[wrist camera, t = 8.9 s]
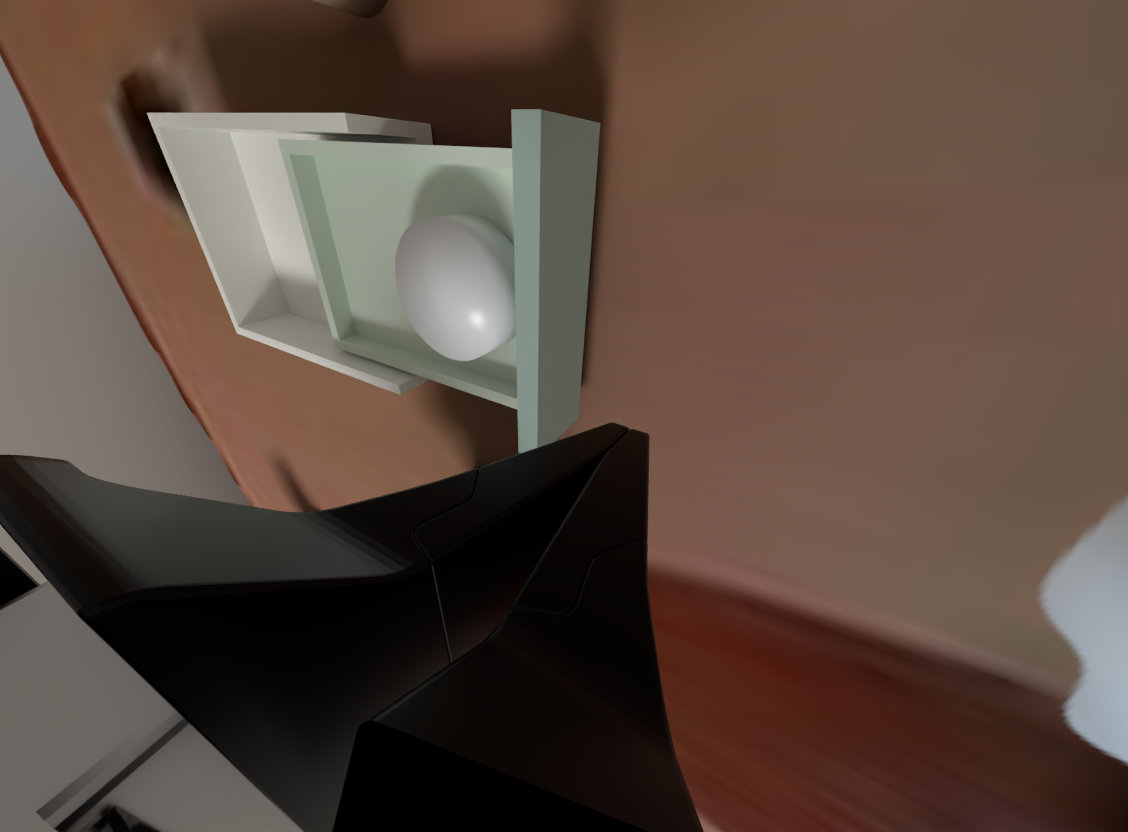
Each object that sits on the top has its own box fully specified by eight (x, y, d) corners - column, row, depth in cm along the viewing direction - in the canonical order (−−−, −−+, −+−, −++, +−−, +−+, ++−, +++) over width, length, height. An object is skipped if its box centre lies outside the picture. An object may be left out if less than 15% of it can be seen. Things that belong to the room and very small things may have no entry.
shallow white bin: (456, 365, 25) (400, 395, 22) (299, 316, 32) (237, 333, 28) (430, 123, 19) (344, 112, 15) (238, 121, 25) (146, 112, 22)
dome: (533, 356, 19) (507, 371, 17) (440, 339, 22) (411, 350, 20) (522, 213, 16) (490, 216, 14) (417, 214, 19) (381, 217, 17)
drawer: (578, 418, 21) (537, 459, 18) (368, 349, 27) (311, 371, 24) (600, 122, 14) (541, 109, 11) (315, 120, 20) (227, 110, 17)
